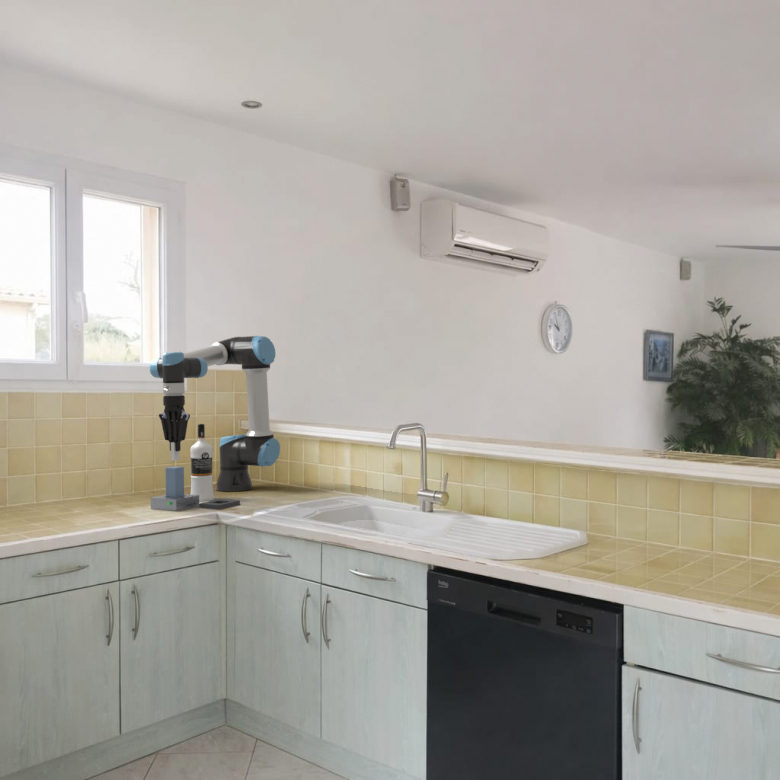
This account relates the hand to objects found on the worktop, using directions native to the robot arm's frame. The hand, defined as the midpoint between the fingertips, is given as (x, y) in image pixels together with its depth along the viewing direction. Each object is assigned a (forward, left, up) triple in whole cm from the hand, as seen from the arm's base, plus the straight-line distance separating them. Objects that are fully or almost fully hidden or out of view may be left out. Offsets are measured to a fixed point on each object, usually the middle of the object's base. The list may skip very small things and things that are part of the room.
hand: (175, 460), depth 291 cm
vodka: (-19, -4, -18) cm, 26 cm away
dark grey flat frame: (-9, +13, -18) cm, 24 cm away
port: (0, 0, -18) cm, 18 cm away
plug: (0, 0, -17) cm, 17 cm away
